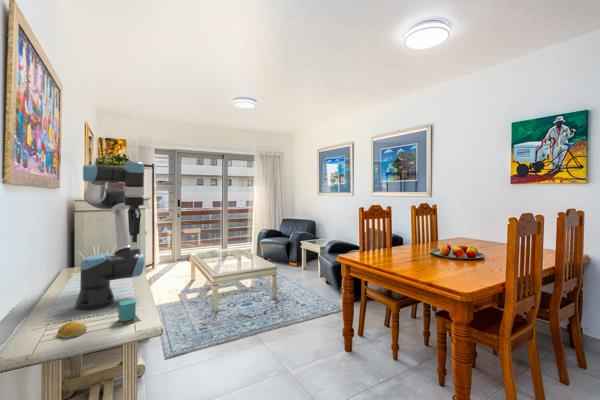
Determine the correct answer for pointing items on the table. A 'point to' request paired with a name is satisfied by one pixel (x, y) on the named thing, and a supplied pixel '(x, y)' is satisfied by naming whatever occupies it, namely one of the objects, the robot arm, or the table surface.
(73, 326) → the bread roll
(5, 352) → the table surface
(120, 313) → the teal toy brick
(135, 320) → the panel
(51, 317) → the table surface
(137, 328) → the table surface
